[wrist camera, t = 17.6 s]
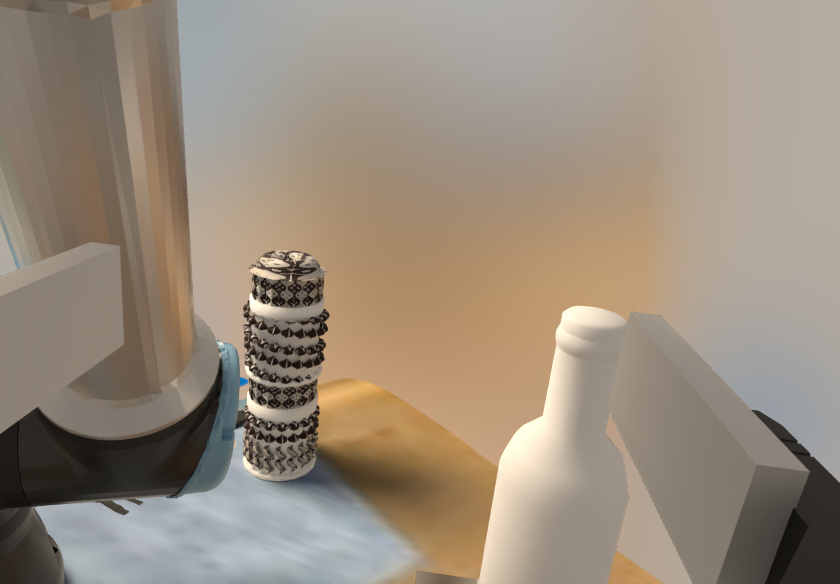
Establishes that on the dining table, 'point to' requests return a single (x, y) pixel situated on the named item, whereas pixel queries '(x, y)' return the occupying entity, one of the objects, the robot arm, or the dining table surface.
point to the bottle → (563, 469)
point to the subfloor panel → (441, 579)
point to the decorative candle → (283, 364)
